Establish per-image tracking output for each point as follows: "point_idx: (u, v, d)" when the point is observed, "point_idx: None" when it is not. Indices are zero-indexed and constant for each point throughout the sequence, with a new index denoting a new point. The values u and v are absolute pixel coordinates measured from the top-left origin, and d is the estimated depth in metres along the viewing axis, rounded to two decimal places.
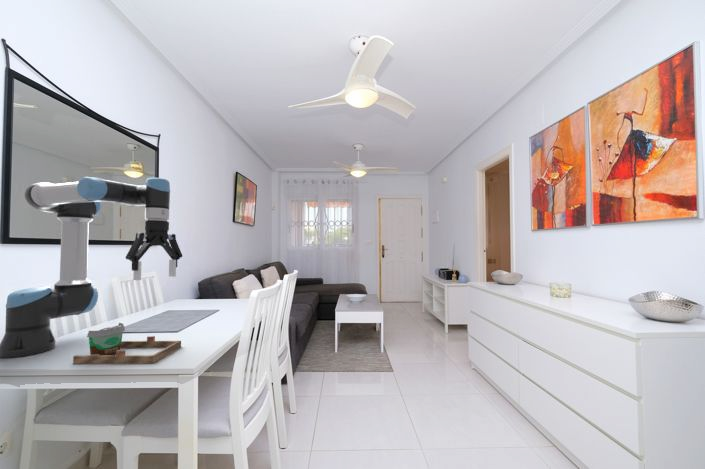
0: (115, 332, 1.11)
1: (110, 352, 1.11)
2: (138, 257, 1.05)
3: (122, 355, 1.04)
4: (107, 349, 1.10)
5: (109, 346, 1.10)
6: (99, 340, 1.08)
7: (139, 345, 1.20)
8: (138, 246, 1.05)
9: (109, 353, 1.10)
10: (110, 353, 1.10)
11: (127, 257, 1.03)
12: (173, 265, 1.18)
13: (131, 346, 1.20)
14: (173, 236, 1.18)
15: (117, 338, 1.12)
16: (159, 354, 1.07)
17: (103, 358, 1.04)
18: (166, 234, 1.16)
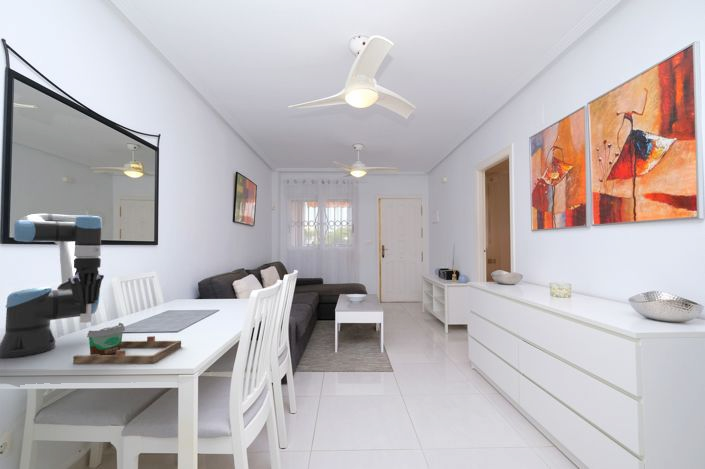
0: (115, 332, 1.11)
1: (110, 352, 1.11)
2: (86, 301, 1.11)
3: (122, 355, 1.04)
4: (107, 349, 1.10)
5: (109, 346, 1.10)
6: (99, 340, 1.08)
7: (139, 345, 1.20)
8: (80, 290, 1.09)
9: (109, 353, 1.10)
10: (110, 353, 1.10)
11: (76, 303, 1.09)
12: None
13: (131, 346, 1.20)
14: (101, 276, 1.18)
15: (117, 338, 1.12)
16: (159, 354, 1.07)
17: (103, 358, 1.04)
18: (97, 270, 1.17)
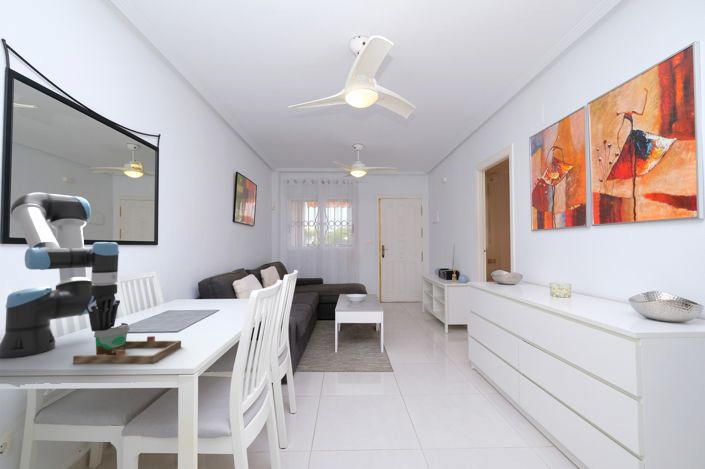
0: (122, 332, 1.12)
1: None
2: (103, 328, 1.11)
3: (122, 355, 1.04)
4: (113, 349, 1.10)
5: (115, 345, 1.10)
6: (106, 340, 1.08)
7: (139, 345, 1.20)
8: (98, 318, 1.09)
9: None
10: None
11: (94, 330, 1.09)
12: None
13: (131, 346, 1.20)
14: (118, 302, 1.18)
15: (123, 338, 1.13)
16: (159, 354, 1.07)
17: (103, 358, 1.04)
18: (114, 296, 1.16)
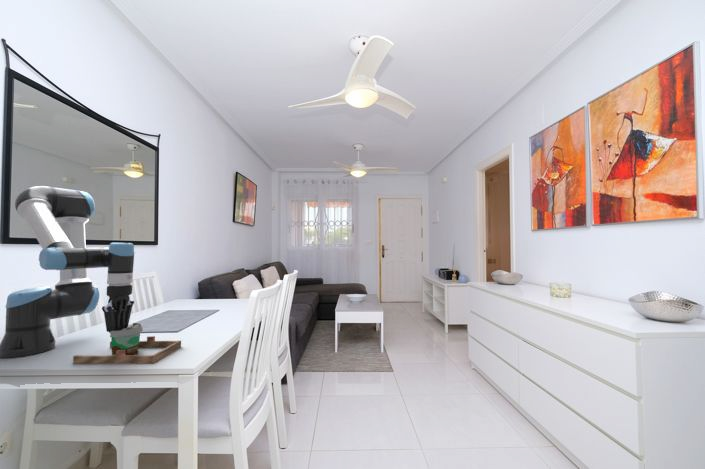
0: (137, 331, 1.12)
1: (132, 351, 1.11)
2: (118, 328, 1.11)
3: (122, 355, 1.04)
4: (129, 348, 1.10)
5: (131, 345, 1.11)
6: (122, 340, 1.09)
7: (139, 345, 1.20)
8: (113, 318, 1.09)
9: (131, 352, 1.11)
10: (132, 352, 1.11)
11: (109, 331, 1.09)
12: None
13: None
14: (132, 302, 1.18)
15: (137, 338, 1.13)
16: (159, 354, 1.07)
17: (103, 358, 1.04)
18: None
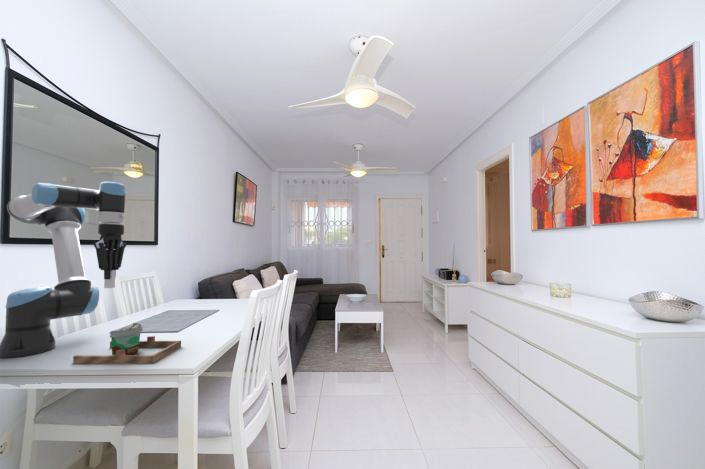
0: (137, 331, 1.12)
1: (132, 351, 1.11)
2: (110, 266, 1.12)
3: (122, 355, 1.04)
4: (129, 348, 1.10)
5: (131, 345, 1.11)
6: (122, 340, 1.09)
7: (139, 345, 1.20)
8: (105, 255, 1.10)
9: (131, 352, 1.11)
10: (132, 352, 1.11)
11: (101, 268, 1.10)
12: None
13: None
14: (124, 244, 1.19)
15: (138, 338, 1.13)
16: (159, 354, 1.07)
17: (103, 358, 1.04)
18: None
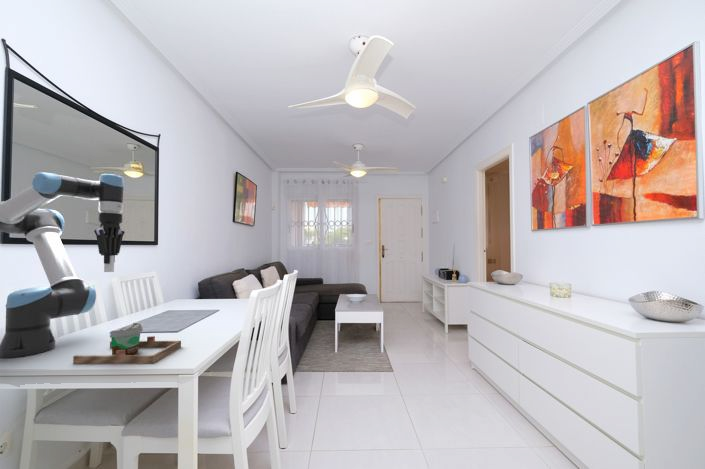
0: (137, 331, 1.12)
1: (132, 351, 1.11)
2: (109, 252, 1.21)
3: (122, 355, 1.04)
4: (129, 348, 1.10)
5: (131, 345, 1.11)
6: (122, 340, 1.09)
7: (139, 345, 1.20)
8: (105, 241, 1.19)
9: (131, 352, 1.11)
10: (132, 352, 1.11)
11: (101, 253, 1.19)
12: None
13: None
14: (122, 232, 1.28)
15: (138, 338, 1.13)
16: (159, 354, 1.07)
17: (103, 358, 1.04)
18: (119, 226, 1.27)
